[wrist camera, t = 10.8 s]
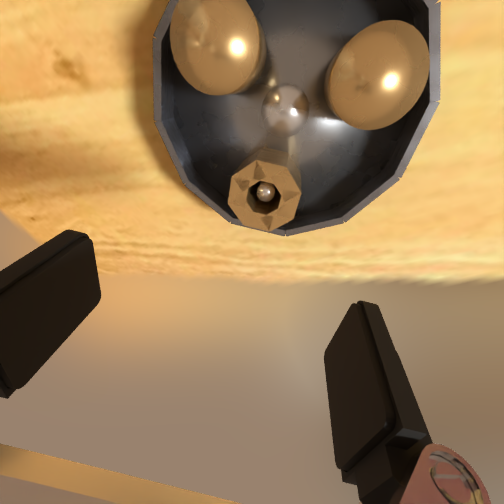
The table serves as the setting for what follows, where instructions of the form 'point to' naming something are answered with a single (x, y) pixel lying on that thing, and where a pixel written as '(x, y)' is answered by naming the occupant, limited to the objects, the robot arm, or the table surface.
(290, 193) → the tan hollow faceted cylinder
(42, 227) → the table surface
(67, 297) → the robot arm
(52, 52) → the table surface
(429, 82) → the tray
